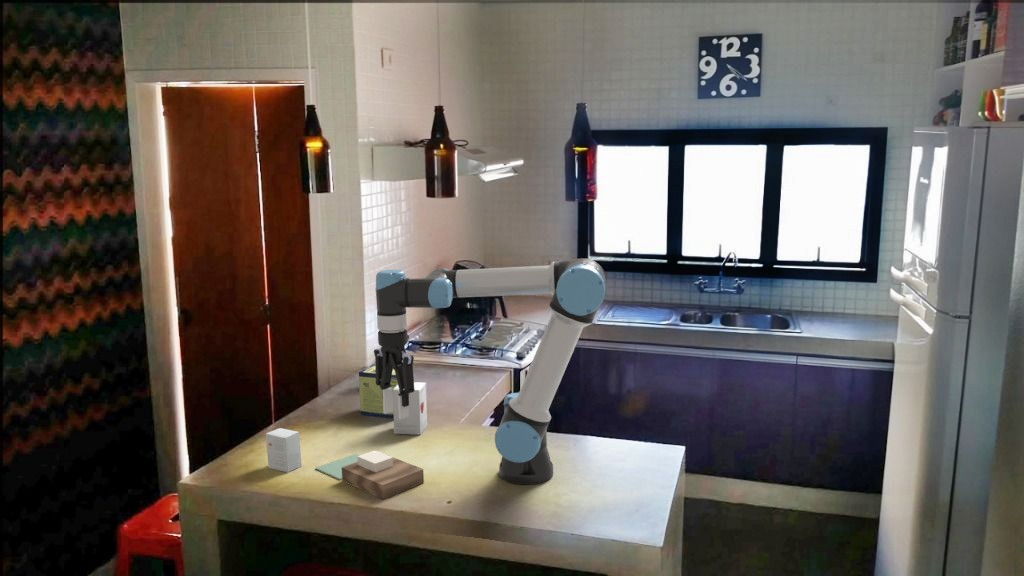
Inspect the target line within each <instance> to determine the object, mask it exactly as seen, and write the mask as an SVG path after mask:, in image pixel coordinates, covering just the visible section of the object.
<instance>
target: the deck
mask: <svg viewBox="0 0 1024 576" xmlns="http://www.w3.org/2000/svg"><path fill="white" fill-rule="evenodd" d="M384 454H385V453H384ZM385 455H388V454H385ZM388 456H390V455H388ZM392 457H393V466H392V467H389V468H386V469H384V470H381V471H378V472H373V471H371V470H369V469H366V468H364V467H361V466H359V465H358V462H355V463H353V464H350V465H347V466H344V467H342V480H341V481H342V482H343V481H344V483H345V482H347V483H346V484H348V483H349V484H348V485H350V484H351V485H350V486H352V485H353V486H352V487H354V486H355V488H356V487H357V489H359V490H361V489H362V490H361V491H363V492H365V491H366V492H365V493H368V494H370V495H372V496H374V497H377V498H379V499H381V500H386V499H388V498H390V497H392V496H395V495H397V494H400V493H403V492H405V491H408V490H411V489H413V488H415V487H417V486H420V485H422V484H424V483H425V480H424V468H421V467H420V466H419V467H418V466H416V465H413V464H411V463H410V462H407V461H404V460H402V459H398V458H396V457H394V456H392Z"/></svg>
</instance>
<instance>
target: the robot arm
mask: <svg viewBox="0 0 1024 576" xmlns="http://www.w3.org/2000/svg"><path fill="white" fill-rule="evenodd" d="M374 290H375V298H376V321H377V324H376V325H377V329H378V331H377V340H378V342H377V343H378V345H379V346H381V347H380V348H377V349H374V350H373V353H374V361H375V366H376V385H377V386H378V385H379V386H380V388H381V389H382V400H383V412H384V414H387V413H390V412H393V393H392V388H389V387H391V386H392V385H391V384H390V383H391V377H392V371H393V369H394V370H395V373H396V378H397V382H398V386H399V391H400V393H399V394H398V410H399V419H403V418H406V417H409V412H408V406H409V393H412V392H414V382H415V380H414V379H415V378H414V365H413V364H414V355H412V354H411V355H408V354H407V352H406V347H405V346H406V345H407V344H408V341H407V334H408V330H407V308H409V309H410V308H413V309H415V308H417V309H419V308H421V309H425V308H427V309H435V310H436V309H445V308H449V307H450V306H451V305H452V301H453V299H456V298H458V299H459V298H475V297H477V298H478V297H481V298H482V297H501V296H503V297H504V296H529V295H548V294H550V295H552V297H551V300H550V303H549V304H548V308H549V310H550V312H551V315H550V318H549V321H548V323H547V325H546V328H545V330H544V332H543V335H542V337H541V339H540V342H539V345H538V347H537V349H536V351H535V354H534V356H533V359H532V361H531V364H530V366H529V368H528V371H527V373H526V376H525V378H524V379H523V380H524V381H523V383H522V386H521V388H520V390H519V391H518V392H513V393H508V394H506V395H505V396H504V399H503V401H504V402H503V406H504V407H503V409H504V410H503V411H504V412H503V413H504V414H503V415H502V418H501V421H500V423H499V424H498V427H497V429H496V431H495V433H494V445H495V448H496V449H497V452H498V453H499V454H500V455H501V459H500V463H499V464H498V467H499V468H498V471H499V472H498V473H499V474H498V475H499V477H500V478H501V479H502V480H503V481H505V482H509V483H511V484H515V485H516V484H518V485H534V484H540V483H543V482H546V481H548V480H550V479H551V478H552V477H554V464H553V462H552V460H551V455H550V453H549V449H548V446H547V445H548V443H547V442H548V441H547V440H548V436H547V434H548V433H547V432H548V431H547V429H548V426H549V424H550V421H551V419H552V416H551V414H550V411H549V409H550V407H551V405H552V402H553V400H554V398H555V395H556V393H557V391H558V388H559V385H560V384H561V381H562V379H563V376H564V374H565V371H566V369H567V367H568V364H569V362H570V360H571V357H572V355H573V353H574V351H575V348H576V346H577V344H578V341H579V338H580V336H581V334H582V332H583V329H584V328H585V327H588V326H590V325H592V324H593V322H594V319H595V317H596V315H597V312H598V310H599V308H600V306H601V305H603V302H604V300H605V297H606V294H607V276H606V273H605V270H604V269H603V267H602V266H601V265H600V264H599V263H597V262H596V261H595V260H593V259H590V258H574V259H567V260H555V261H552V262H551V263H550V264H549V265H533V266H532V265H531V266H530V265H528V266H514V267H513V266H511V267H490V268H473V269H472V268H471V269H468V268H467V269H454V270H453V269H451V270H450V269H447V268H439V269H435V270H433V271H432V272H430V273H429V275H427V276H426V277H424V278H409V277H406V274H405V271H403V270H402V269H383V270H381V271H380V270H379V271H378V272H377V273H376V275H375V289H374ZM400 364H401V365H400ZM397 365H399V366H397ZM380 379H381V380H380Z"/></svg>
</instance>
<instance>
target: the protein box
mask: <svg viewBox="0 0 1024 576" xmlns="http://www.w3.org/2000/svg"><path fill="white" fill-rule="evenodd" d="M380 380H381V379H380ZM390 384H391V385H392V386H391V387H389V388H392V393H393V389H394V388H395V387H396V386H397V385H398V382H397V378H396V373H395V370H394V369H393V371H392V377H391V383H390ZM358 386H359V387H358V389H359V391H358V392H359V407H360V408H359V409H360V412H359V414H360V416H368V417H376V418H377V417H378V418H387V419H394V411H393V412H390V413H387V414H384V412H383V400H382V389H381V388H380V386H379V385H378V386H377V385H376V366H375V364H373V363H372V364H371V365H369V366H367V367H366V368H364V369H362V370H360V371H358Z"/></svg>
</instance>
